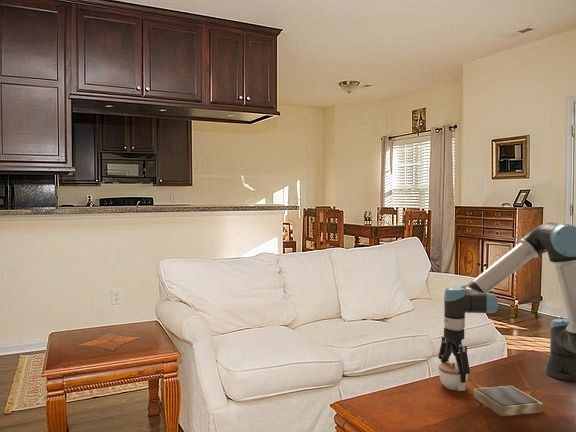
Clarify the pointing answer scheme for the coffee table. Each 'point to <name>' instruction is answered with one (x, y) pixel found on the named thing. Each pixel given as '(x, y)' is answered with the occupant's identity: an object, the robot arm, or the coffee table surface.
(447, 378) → the lidded jar
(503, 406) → the stand
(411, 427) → the coffee table surface
